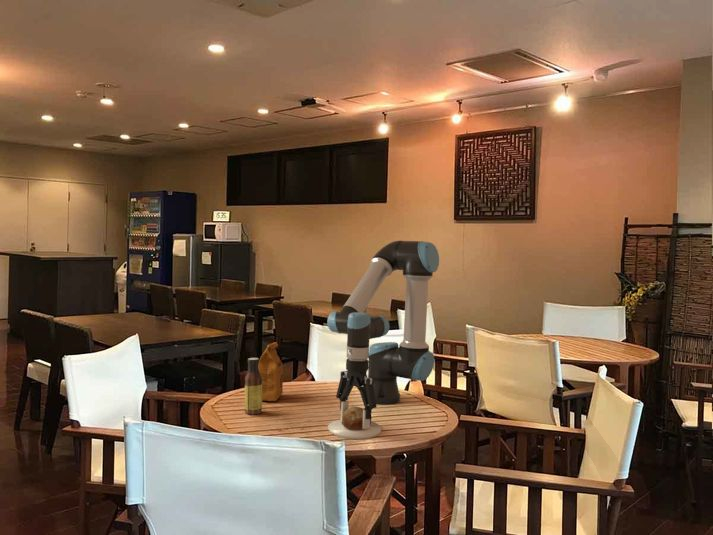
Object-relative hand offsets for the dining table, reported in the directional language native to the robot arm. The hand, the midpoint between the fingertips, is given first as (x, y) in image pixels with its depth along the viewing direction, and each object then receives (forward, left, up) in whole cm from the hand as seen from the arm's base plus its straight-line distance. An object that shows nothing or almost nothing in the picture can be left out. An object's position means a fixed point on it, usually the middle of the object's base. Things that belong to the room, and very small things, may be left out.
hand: (354, 424), depth 203 cm
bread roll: (-1, 0, -1) cm, 1 cm away
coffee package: (0, -49, -2) cm, 49 cm away
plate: (0, 0, -2) cm, 2 cm away
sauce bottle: (+16, -37, -2) cm, 40 cm away
